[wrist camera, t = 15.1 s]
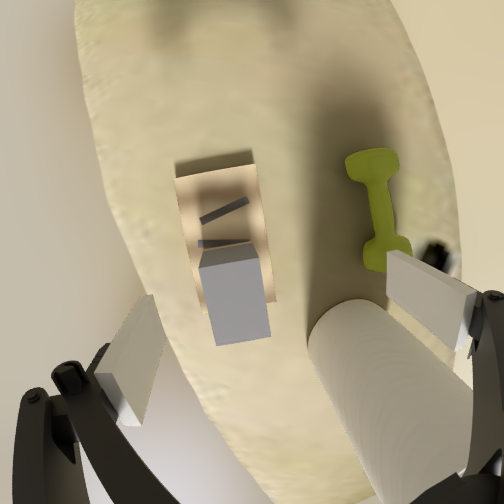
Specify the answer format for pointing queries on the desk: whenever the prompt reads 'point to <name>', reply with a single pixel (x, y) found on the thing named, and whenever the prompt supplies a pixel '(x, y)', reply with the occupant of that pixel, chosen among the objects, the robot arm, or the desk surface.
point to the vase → (392, 400)
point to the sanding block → (234, 293)
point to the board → (223, 218)
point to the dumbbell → (378, 203)
